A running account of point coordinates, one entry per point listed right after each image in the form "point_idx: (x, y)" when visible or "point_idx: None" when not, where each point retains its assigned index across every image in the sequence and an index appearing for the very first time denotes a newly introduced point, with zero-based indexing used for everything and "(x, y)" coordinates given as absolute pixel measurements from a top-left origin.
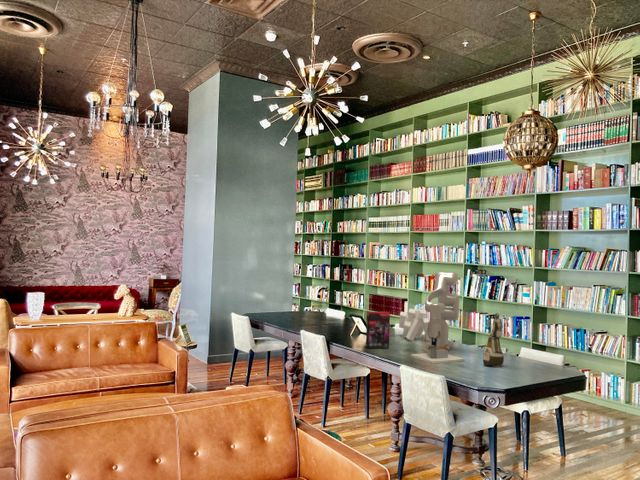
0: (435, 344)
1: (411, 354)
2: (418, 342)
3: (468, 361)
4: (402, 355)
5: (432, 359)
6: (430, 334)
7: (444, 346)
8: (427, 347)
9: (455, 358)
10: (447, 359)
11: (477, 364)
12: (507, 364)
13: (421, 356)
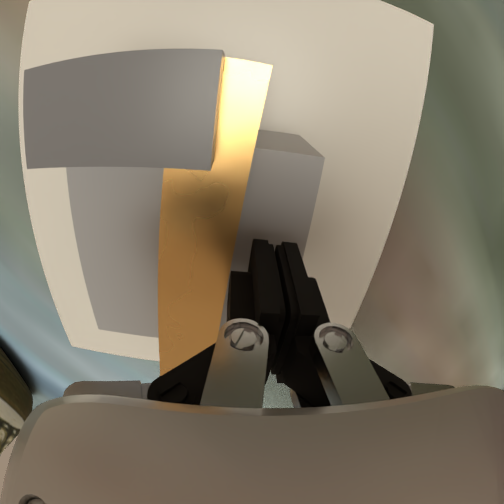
0: (227, 309)
1: (420, 18)
2: (500, 380)
3: (72, 346)
4: (468, 10)
5: (88, 40)
6: (401, 480)
7: (160, 370)
8: (229, 59)
9: (86, 308)
10: (53, 212)
11: (8, 325)
12: (37, 405)
13: (283, 19)
